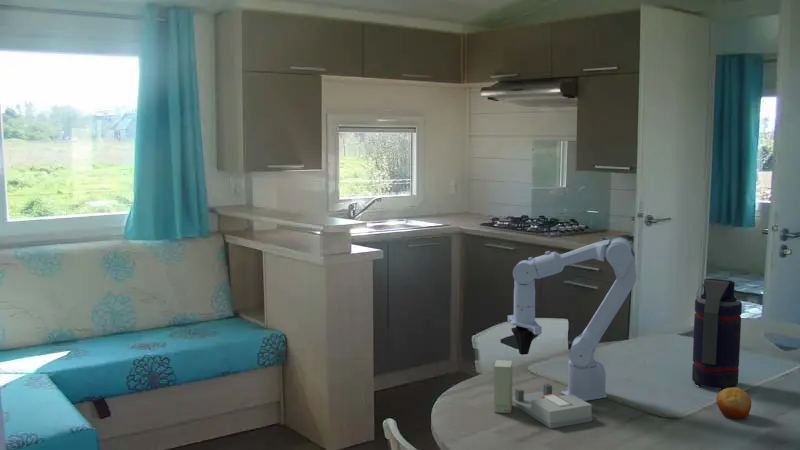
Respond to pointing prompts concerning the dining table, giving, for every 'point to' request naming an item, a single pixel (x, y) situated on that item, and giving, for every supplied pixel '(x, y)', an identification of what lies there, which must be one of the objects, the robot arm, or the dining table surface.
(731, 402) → the fruit
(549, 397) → the button
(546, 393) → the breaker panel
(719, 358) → the grenade
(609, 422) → the dining table surface
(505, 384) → the skincare box
